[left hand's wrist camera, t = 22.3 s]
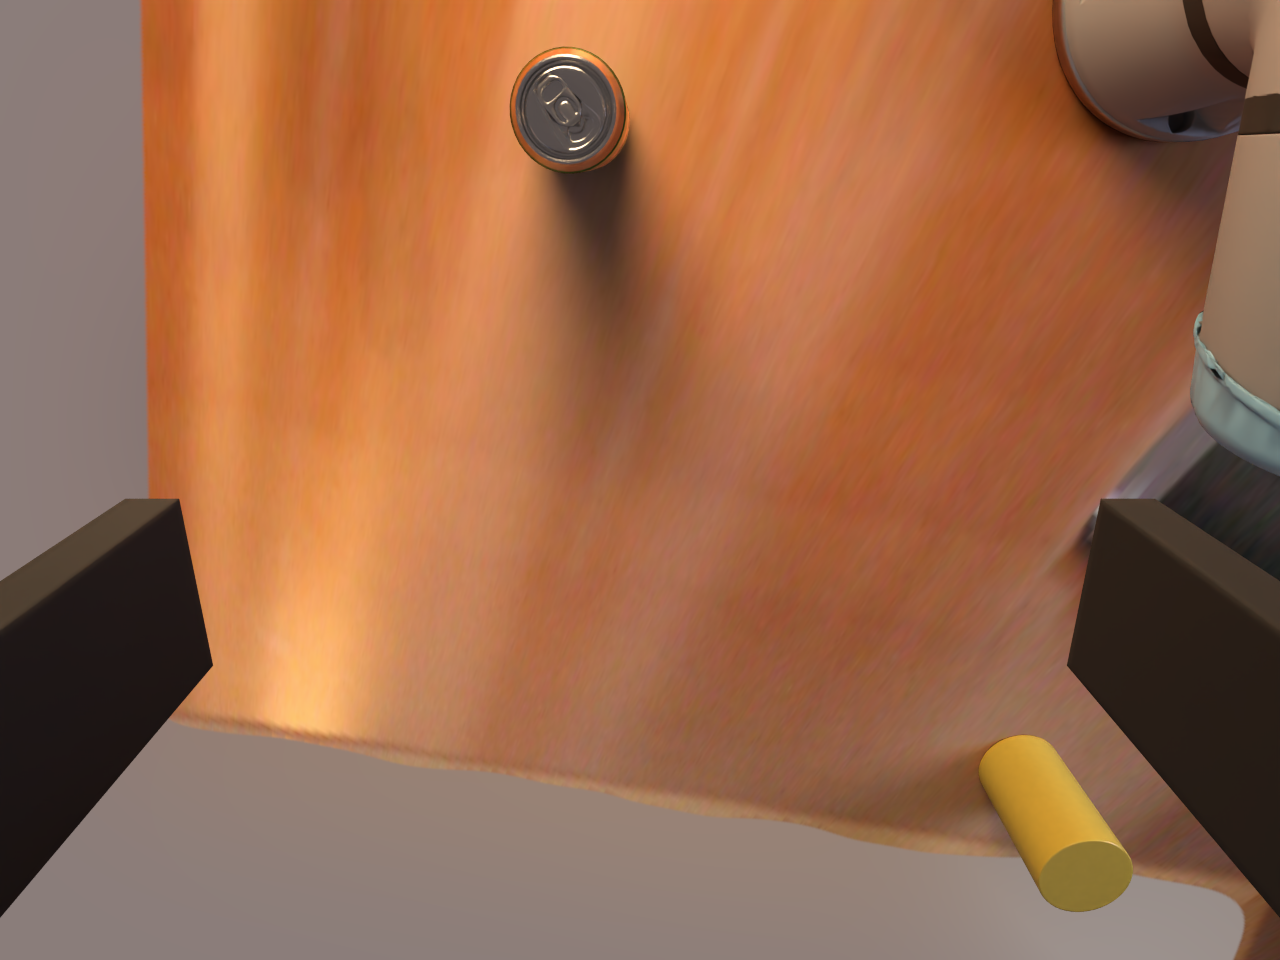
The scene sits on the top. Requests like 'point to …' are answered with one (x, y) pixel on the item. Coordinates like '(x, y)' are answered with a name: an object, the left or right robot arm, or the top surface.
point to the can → (1054, 825)
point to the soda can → (569, 111)
